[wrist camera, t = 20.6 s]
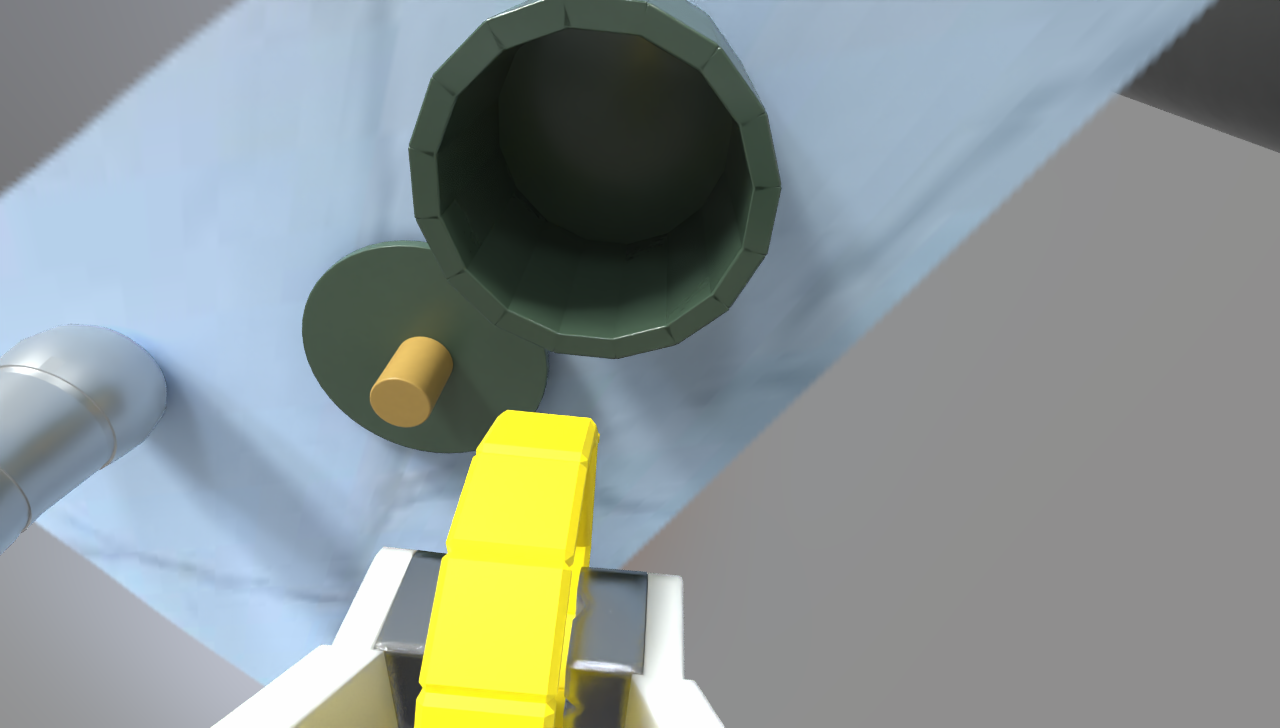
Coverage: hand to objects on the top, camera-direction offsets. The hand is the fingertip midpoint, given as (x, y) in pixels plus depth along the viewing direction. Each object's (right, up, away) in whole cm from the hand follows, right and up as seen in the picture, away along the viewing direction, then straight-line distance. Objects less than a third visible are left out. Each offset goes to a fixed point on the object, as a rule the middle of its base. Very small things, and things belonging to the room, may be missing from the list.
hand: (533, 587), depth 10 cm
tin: (+1, +13, +17) cm, 21 cm away
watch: (0, +1, +2) cm, 2 cm away
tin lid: (-8, +4, +22) cm, 24 cm away
